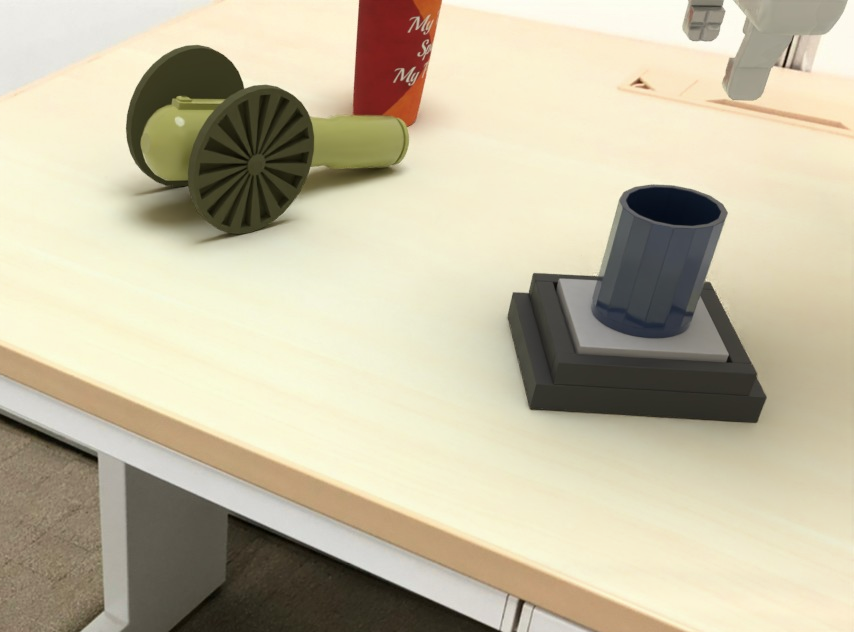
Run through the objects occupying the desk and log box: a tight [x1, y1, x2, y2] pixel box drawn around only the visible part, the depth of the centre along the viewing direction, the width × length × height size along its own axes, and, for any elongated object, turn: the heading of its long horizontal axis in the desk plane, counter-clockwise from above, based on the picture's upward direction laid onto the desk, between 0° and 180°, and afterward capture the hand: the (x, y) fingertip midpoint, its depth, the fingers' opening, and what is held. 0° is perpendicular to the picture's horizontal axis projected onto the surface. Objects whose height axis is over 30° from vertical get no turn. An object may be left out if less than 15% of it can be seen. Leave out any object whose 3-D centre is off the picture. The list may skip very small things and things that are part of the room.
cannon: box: [125, 44, 410, 235], centre depth 101 cm, size 25×12×11 cm, turn 117°
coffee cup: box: [352, 0, 443, 127], centre depth 112 cm, size 8×8×15 cm
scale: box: [507, 272, 768, 423], centre depth 82 cm, size 14×12×4 cm
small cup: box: [591, 184, 729, 338], centre depth 78 cm, size 6×6×8 cm
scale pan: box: [556, 279, 729, 362], centre depth 81 cm, size 9×9×2 cm
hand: (717, 65), depth 71 cm, fingers open, 8 cm apart
